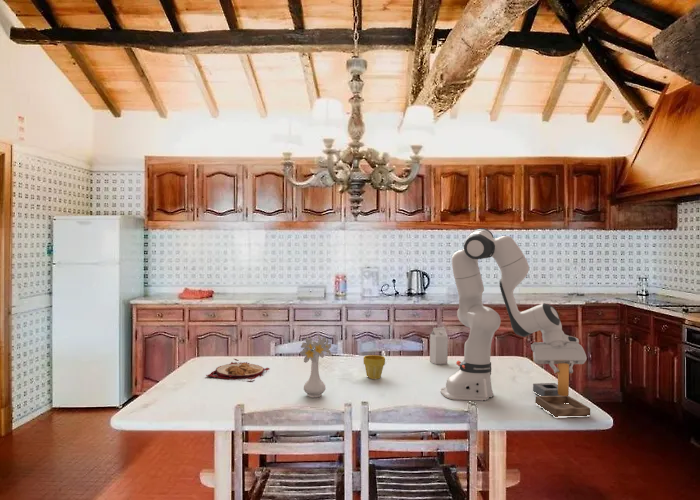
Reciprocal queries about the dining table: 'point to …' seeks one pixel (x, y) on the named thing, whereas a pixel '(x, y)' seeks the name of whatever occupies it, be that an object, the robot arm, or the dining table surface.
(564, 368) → the pin
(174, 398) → the dining table surface
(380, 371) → the plant pot
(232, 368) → the plate with food
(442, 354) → the milk carton
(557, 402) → the walnut tray
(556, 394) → the bracket
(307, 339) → the flower vase
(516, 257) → the robot arm
